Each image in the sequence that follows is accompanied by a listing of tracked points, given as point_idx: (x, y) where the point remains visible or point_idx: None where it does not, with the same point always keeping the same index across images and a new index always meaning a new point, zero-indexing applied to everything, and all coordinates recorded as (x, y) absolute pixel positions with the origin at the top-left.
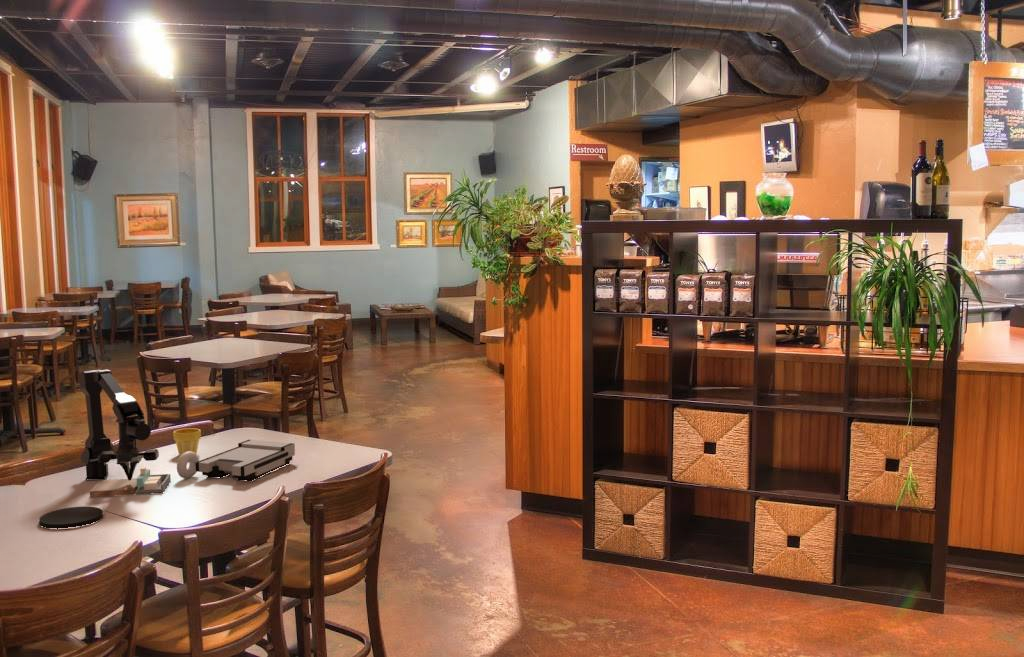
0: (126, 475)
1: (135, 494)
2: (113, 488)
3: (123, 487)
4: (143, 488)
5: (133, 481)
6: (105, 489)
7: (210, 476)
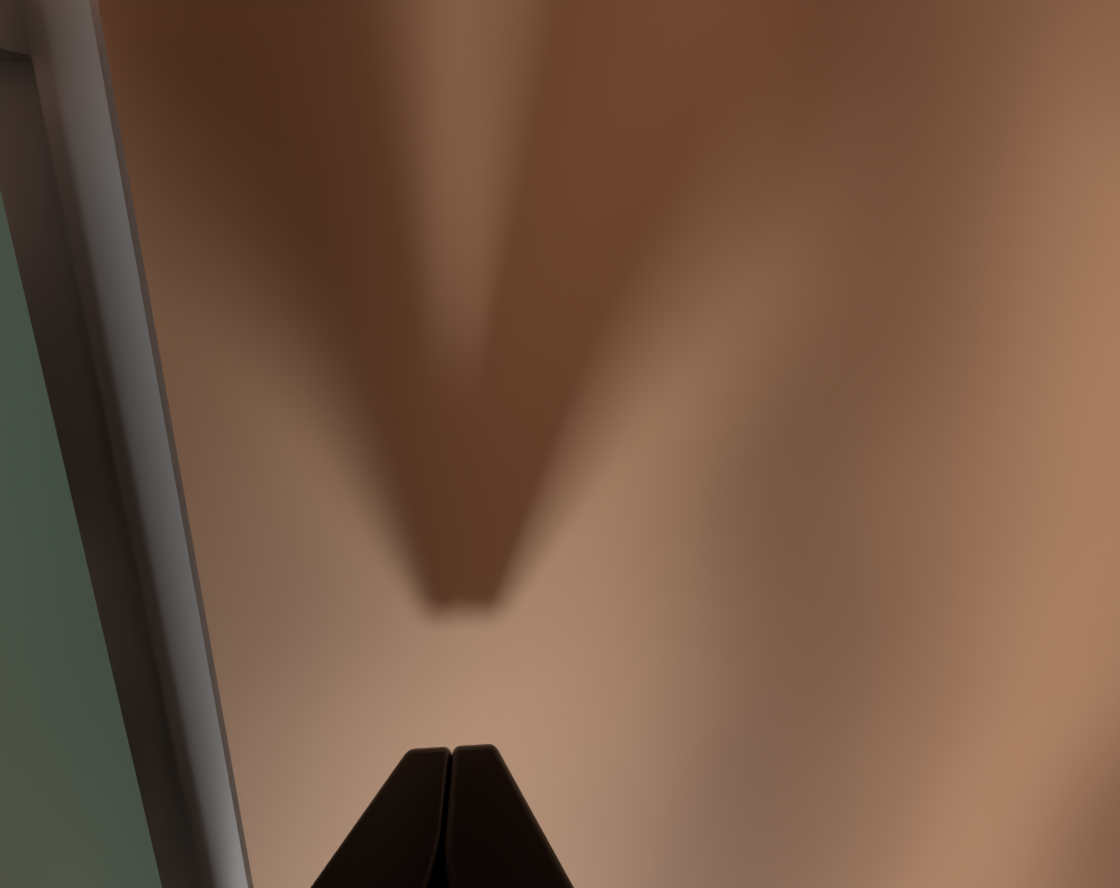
0: (562, 874)
1: None
2: (891, 244)
3: (572, 302)
4: None
5: None
6: None
7: None
